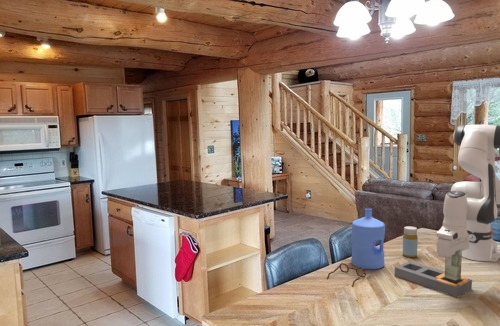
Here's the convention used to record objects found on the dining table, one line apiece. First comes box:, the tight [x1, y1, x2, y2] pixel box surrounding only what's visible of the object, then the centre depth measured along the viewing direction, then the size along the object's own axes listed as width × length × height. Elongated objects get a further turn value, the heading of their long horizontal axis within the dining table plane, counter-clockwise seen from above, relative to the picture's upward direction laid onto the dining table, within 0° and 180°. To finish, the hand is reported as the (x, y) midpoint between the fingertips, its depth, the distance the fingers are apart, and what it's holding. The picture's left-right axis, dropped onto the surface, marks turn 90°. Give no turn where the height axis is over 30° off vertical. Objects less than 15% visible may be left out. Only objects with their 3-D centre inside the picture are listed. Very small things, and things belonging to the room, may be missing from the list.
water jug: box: [351, 207, 386, 270], centre depth 190 cm, size 16×16×28 cm
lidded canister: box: [402, 225, 419, 258], centre depth 202 cm, size 7×7×15 cm
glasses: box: [326, 262, 367, 288], centre depth 174 cm, size 13×13×5 cm
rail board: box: [394, 260, 473, 298], centre depth 169 cm, size 12×28×4 cm, turn 36°
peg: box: [444, 250, 463, 280], centre depth 161 cm, size 4×4×12 cm
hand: (453, 263), depth 161 cm, fingers closed on peg, 4 cm apart
